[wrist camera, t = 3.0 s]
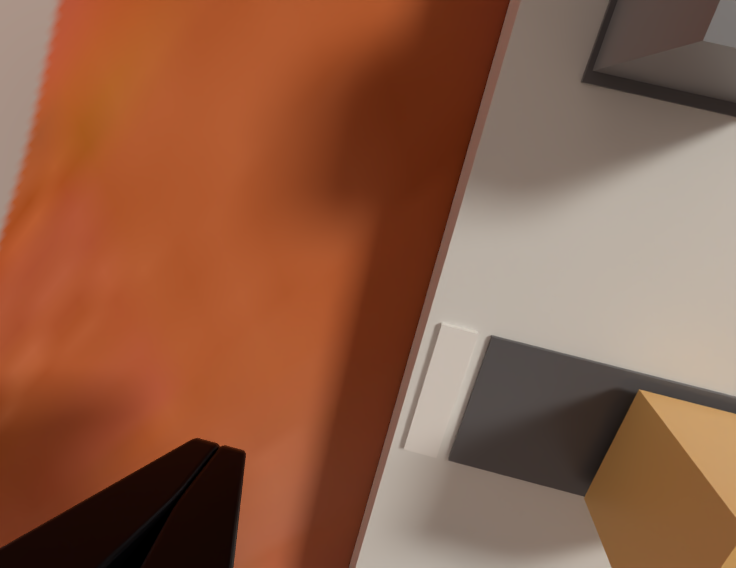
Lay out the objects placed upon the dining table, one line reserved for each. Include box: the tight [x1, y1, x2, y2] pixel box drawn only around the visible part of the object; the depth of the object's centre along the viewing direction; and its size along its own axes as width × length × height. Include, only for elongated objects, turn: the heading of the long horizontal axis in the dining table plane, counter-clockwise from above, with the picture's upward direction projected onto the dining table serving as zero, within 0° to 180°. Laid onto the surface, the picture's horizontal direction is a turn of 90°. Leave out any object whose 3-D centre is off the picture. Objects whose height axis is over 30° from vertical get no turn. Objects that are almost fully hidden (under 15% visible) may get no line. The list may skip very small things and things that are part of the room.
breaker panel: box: [349, 0, 736, 568], centre depth 10 cm, size 12×22×6 cm, turn 168°
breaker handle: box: [584, 389, 736, 568], centre depth 8 cm, size 3×3×4 cm
